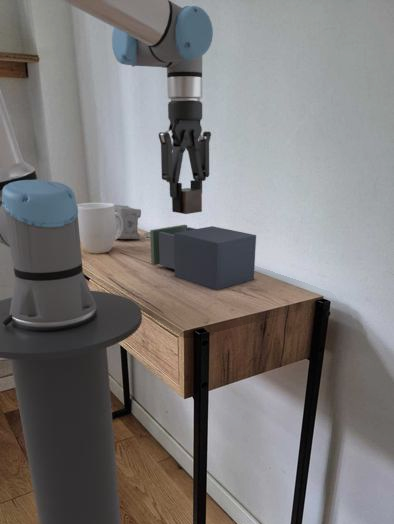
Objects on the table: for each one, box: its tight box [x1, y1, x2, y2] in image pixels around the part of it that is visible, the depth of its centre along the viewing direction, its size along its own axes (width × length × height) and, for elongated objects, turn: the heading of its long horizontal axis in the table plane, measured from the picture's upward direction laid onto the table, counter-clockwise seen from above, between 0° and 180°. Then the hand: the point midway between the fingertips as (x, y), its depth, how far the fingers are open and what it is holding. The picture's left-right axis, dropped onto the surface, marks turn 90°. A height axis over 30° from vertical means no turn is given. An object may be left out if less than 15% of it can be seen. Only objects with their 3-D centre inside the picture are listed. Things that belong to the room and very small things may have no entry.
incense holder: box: [114, 204, 142, 240], centre depth 156 cm, size 10×8×10 cm
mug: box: [77, 202, 123, 255], centre depth 140 cm, size 15×11×13 cm
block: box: [171, 187, 203, 215], centre depth 114 cm, size 5×5×5 cm
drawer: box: [143, 224, 196, 270], centre depth 124 cm, size 19×11×9 cm, turn 42°
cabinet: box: [174, 225, 257, 291], centre depth 115 cm, size 15×13×11 cm
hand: (186, 210), depth 115 cm, fingers closed on block, 5 cm apart
